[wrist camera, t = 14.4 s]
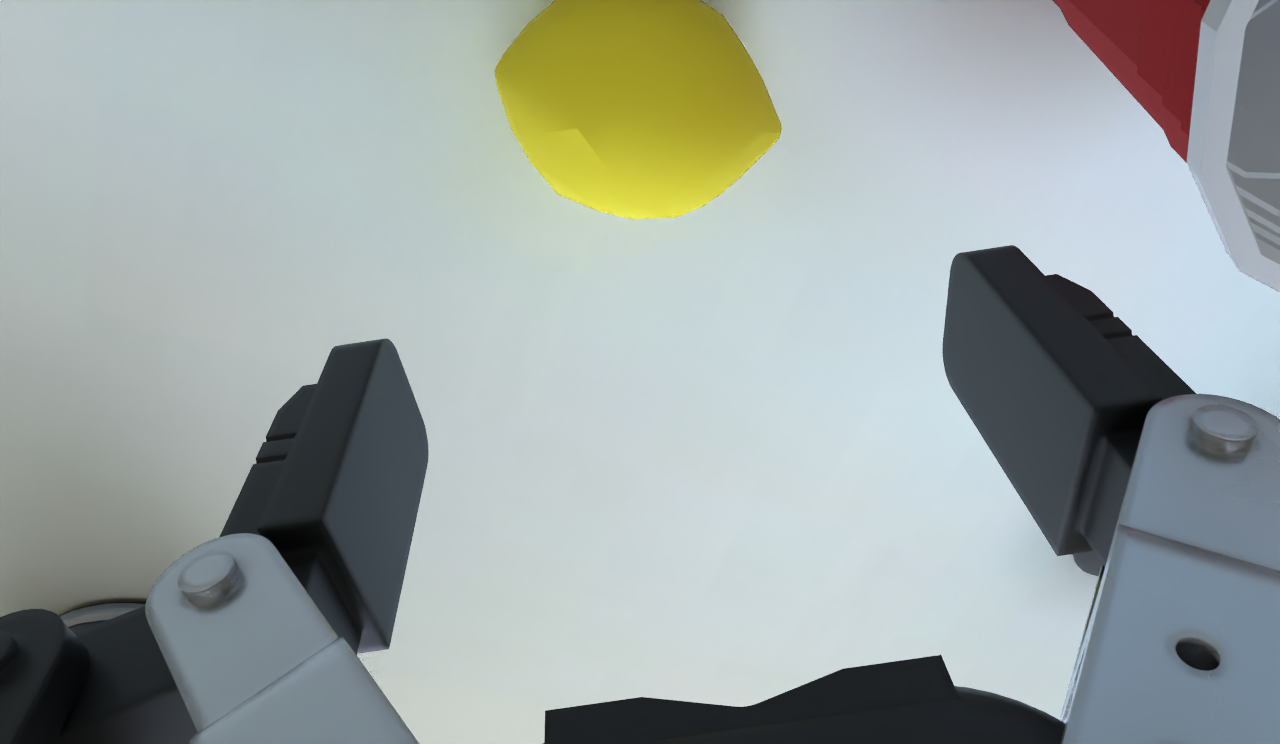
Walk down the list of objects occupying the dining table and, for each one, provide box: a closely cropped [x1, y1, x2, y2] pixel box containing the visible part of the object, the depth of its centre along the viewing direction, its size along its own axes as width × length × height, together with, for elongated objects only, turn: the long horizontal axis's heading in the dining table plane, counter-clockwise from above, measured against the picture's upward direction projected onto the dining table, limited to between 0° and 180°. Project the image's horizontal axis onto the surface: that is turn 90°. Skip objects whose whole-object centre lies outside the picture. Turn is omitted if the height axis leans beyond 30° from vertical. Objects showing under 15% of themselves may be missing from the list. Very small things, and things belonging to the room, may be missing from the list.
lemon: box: [495, 0, 781, 219], centre depth 20 cm, size 7×5×5 cm
